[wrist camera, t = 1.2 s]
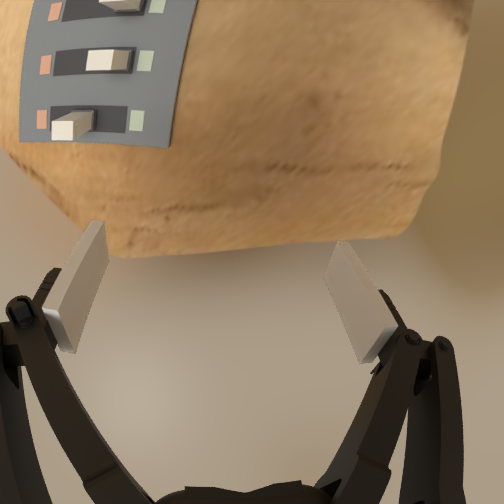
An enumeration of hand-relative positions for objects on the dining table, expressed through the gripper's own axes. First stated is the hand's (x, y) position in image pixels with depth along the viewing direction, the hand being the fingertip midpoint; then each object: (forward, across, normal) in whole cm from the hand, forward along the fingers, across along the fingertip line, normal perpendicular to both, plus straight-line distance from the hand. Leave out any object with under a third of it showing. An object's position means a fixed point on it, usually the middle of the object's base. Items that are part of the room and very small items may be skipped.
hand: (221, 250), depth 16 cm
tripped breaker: (+20, -16, +3) cm, 25 cm away
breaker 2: (+19, -12, +10) cm, 25 cm away
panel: (+21, -16, +10) cm, 28 cm away
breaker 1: (+20, -12, +17) cm, 29 cm away
